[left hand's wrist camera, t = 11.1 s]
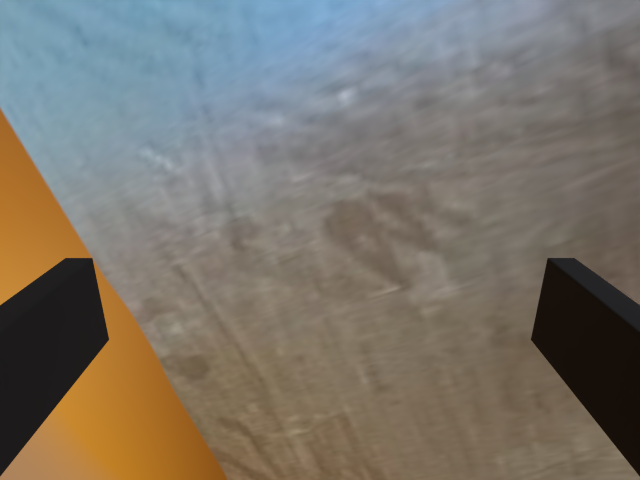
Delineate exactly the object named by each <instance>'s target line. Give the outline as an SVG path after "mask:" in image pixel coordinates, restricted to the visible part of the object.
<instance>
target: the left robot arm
mask: <svg viewBox="0 0 640 480" xmlns="http://www.w3.org/2000/svg"><path fill="white" fill-rule="evenodd" d="M108 340H109V337H108V332H107V328H106V323H105V318H104V313H103V308H102V303H101V299H100V294H99V289H98V284H97V279H96V274H95V269H94V264H93V260H92V258H65V259H64V260H62V261H61V262H60V263H58V264H57V265H56V266H54V267H53V268H51V269H50V270H49V271H47V272H46V273H44V274H43V275H42V276H40V277H39V278H38V279H36V280H35V281H33V282H32V283H31V284H29V285H28V286H27V287H25V288H24V289H22V290H21V291H20V292H18V293H17V294H15V295H14V296H13V297H11V298H10V299H8V300H7V301H6V302H4V303H3V304H2V305H0V476H1V475H2V473H3V472H4V471H5V470H6V468H7V467H8V466H9V465H10V463H11V462H12V461H13V460H14V458H15V457H16V456H17V455H18V453H19V452H20V451H21V450H22V448H23V447H24V446H25V444H26V443H27V442H28V441H29V440H30V438H31V437H32V436H33V434H34V433H35V432H36V431H37V429H38V428H39V427H40V426H41V424H42V423H43V422H44V421H45V419H46V418H47V417H48V416H49V414H50V413H51V412H52V411H53V409H54V408H55V407H56V405H57V404H58V403H59V402H60V401H61V399H62V398H63V397H64V395H65V394H66V393H67V392H68V390H69V389H70V388H71V387H72V385H73V384H74V383H75V382H76V380H77V379H78V378H79V377H80V375H81V374H82V373H83V372H84V370H85V369H86V368H87V367H88V365H89V364H90V363H91V362H92V360H93V359H94V358H95V357H96V355H97V354H98V353H99V352H100V350H101V349H102V348H103V346H104V345H105V344H106V343H107V341H108ZM531 340H532V341H533V343H534V344H535V345H536V347H537V348H538V349H539V350H540V352H541V353H542V354H543V355H544V357H545V358H546V359H547V360H548V362H549V363H550V364H551V365H552V367H553V368H554V369H555V370H556V372H557V373H558V374H559V375H560V377H561V378H562V379H563V380H564V382H565V383H566V384H567V385H568V387H569V388H570V389H571V391H572V392H573V393H574V394H575V396H576V397H577V398H578V399H579V401H580V402H581V403H582V404H583V406H584V407H585V408H586V409H587V411H588V412H589V413H590V414H591V416H592V417H593V418H594V419H595V421H596V422H597V423H598V424H599V426H600V427H601V428H602V429H603V431H604V432H605V433H606V434H607V436H608V437H609V438H610V440H611V441H612V442H613V443H614V445H615V446H616V447H617V448H618V450H619V451H620V452H621V453H622V455H623V456H624V457H625V458H626V460H627V461H628V462H629V463H630V465H631V466H632V467H633V468H634V470H635V471H636V472H637V473H638V475H639V476H640V305H638V304H637V303H636V302H634V301H633V300H632V299H630V298H629V297H627V296H626V295H625V294H623V293H622V292H620V291H619V290H618V289H616V288H615V287H614V286H612V285H611V284H609V283H608V282H607V281H605V280H604V279H602V278H601V277H600V276H598V275H597V274H596V273H594V272H593V271H591V270H590V269H589V268H587V267H586V266H584V265H583V264H582V263H580V262H579V261H578V260H576V259H575V258H548V260H547V264H546V269H545V274H544V279H543V284H542V289H541V294H540V298H539V303H538V308H537V313H536V318H535V323H534V328H533V332H532V337H531Z"/></svg>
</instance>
